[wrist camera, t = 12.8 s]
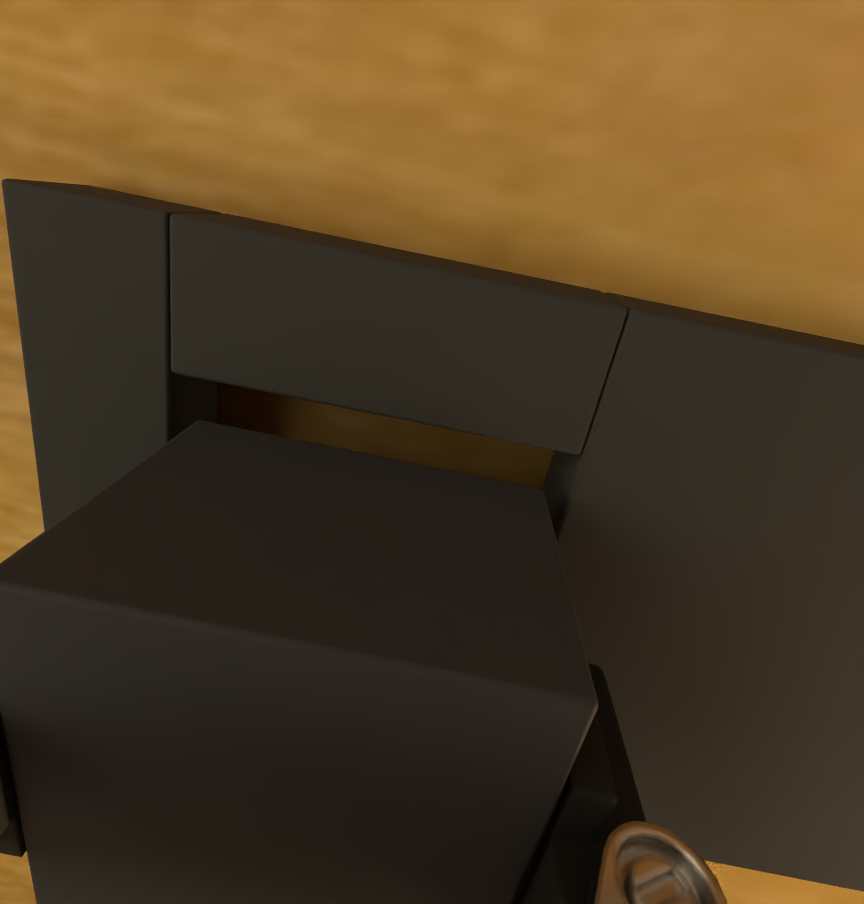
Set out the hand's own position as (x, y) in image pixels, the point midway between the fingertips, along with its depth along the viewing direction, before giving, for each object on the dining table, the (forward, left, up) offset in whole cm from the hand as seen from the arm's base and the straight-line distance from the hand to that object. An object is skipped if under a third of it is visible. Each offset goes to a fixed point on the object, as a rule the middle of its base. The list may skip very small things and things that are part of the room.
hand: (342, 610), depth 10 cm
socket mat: (0, +4, -3) cm, 5 cm away
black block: (0, 0, -1) cm, 1 cm away
